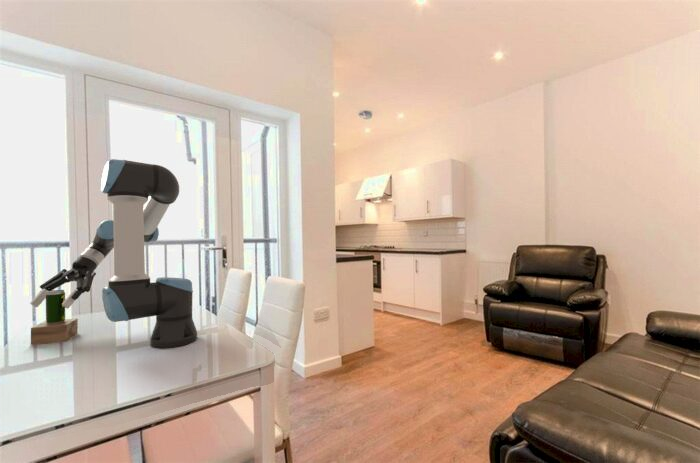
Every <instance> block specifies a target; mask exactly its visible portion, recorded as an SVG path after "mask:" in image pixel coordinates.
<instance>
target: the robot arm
mask: <svg viewBox="0 0 700 463" xmlns="http://www.w3.org/2000/svg"><path fill="white" fill-rule="evenodd" d="M101 175H102V177H101V181H100V191H101V193H103V194H106V196H107V197H106V199H107V201H109V202H110V203H111V204H112V210H113V211H112V214H113V216H112V217H113V219H106V220H103V221H102V222H101V223H99V225H98V227H97V229H96V232H95V236H94V237H93V240H92V242H91V243H90V244H89V245H88V247H86V249H85V250H84V251H82V252H81V254H80V255H79V256H78V257H77V258H76V259H75V260H74V261H73V262H72V264H71V266H72V267H71V268H70V269H69V270H67V269H66V268H64V269H62V270H61V271H60V272H58V273H57V274H56V275H54V276H53V277H51V278H49V279H48V280H47V281H45V282H44V283H42V284H41V285H39V288H40V289H41V290H40V291H39V292H38V293H37V295H36V296H35V297H34V298H33V299H32V300H31V301H30V303H29V304H30V305H31V306H33V307H34V308H38V307H39V306H40V305H41V304H42V303H43V302H44V301H45V300H46V293H47V291H52V290H56V289H57V288H59V287H61V286H62V285H64V284H66V283H70V282H76V287H75V289H73V290H72V292H70V294H69V295H68V296H67V298H66V297H65V301H64V302H63V303H62V305H63V306H64V307H65V309H70V307H71V306H72V305H73V304H74V303H75V302H76V301H77V300H78V299H79V298H80V296H81V295H82V294H85V292H86V293H89V292H90V291H91V288H92V283H93V280H94V278H95V276H96V275H97V273H96V272H95V270H96V269H97V268H98V266H99V265H100V264H101V263H102V262H103V261H104V260H105V259H106V257H107V256H108V255H109V253H111V251H112V250H113V276H112V277H110V279H109V280H108V285H107V286H105V287H103V288H102V291H101V293H102V294H101V296H102V297H101V298H102V299H101V300H102V303H103V304H102V305H103V309H104V312H105V315H106V317H107V319H108V320H109V321H110V322H112V323H113V322H115V323H117V322H129V321H130V320H132V321H133V320H138V319H143V318H150V317H156V318H155V324H154V327H153V330H152V333H151V335H150V341H149V342H150V343H149V344H150V346H151V347H152V348H157V349H158V348H159V349H167V348H176V347H182V346H185V345H188V344H189V345H190V344H191V342H192V343H194V342H195V341H197V340H198V330H197V328H196V325H195V322H194V319H193V292H194V290H193V282H192V281H191V279H188V278H183V277H168V276H167V277H166V276H165V277H164V276H163V277H157V278H156V280H155V282H151V276H149V275H148V274H146V271H145V270H146V268H145V258H146V257H145V243H153V242H157V241H158V239H159V234H160V233H159V232H160V230H159V227H158V226H159V224H161V221H162V219H163V218H164V216H165V213H166V212H167V210H168V208H169V207H170V205H172V204H173V203H175V202H176V200H177V199H178V198H179V197H178V196H179V195H180V184H179V181H178V179H177V177H176V176H175V175H174V174H173V172H172V171H171V170H170V169H169V168H167V167H164V166H162V165H159V164H153V163H152V164H151V163H145V162H138V161H132V160H127V159H114V158H113V159H109V160H108V161H107V162H106V164H105V165H104V168H103V172H102V174H101ZM196 339H197V340H196ZM193 341H194V342H193Z"/></svg>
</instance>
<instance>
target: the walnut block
mask: <svg viewBox="0 0 700 463" xmlns="http://www.w3.org/2000/svg"><path fill="white" fill-rule="evenodd" d="M78 328H79V327H78V318H68V319H66V318H65V321H64V322H63V323H59V324H52V325H48V324H47V323H46V320H44V321H43V322H40V323H38V324H36V325H34V326H32V327H30V346H31V345H33V346H34V345H41V344H42V345H43V344H53V343H63V342H68V341H69V340H70V339H72V338H73V337H75V336H77V335H78Z"/></svg>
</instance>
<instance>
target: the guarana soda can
mask: <svg viewBox="0 0 700 463" xmlns="http://www.w3.org/2000/svg"><path fill="white" fill-rule="evenodd" d="M65 300H66V292H65V289H53V290H52V291H47V293H46V298H45V321H46V323H47V324H48V325H52V324H59V323H63V322H64V321H65V319H66V307H64V306H63V305H62V303H63V302H64V301H65Z"/></svg>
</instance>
